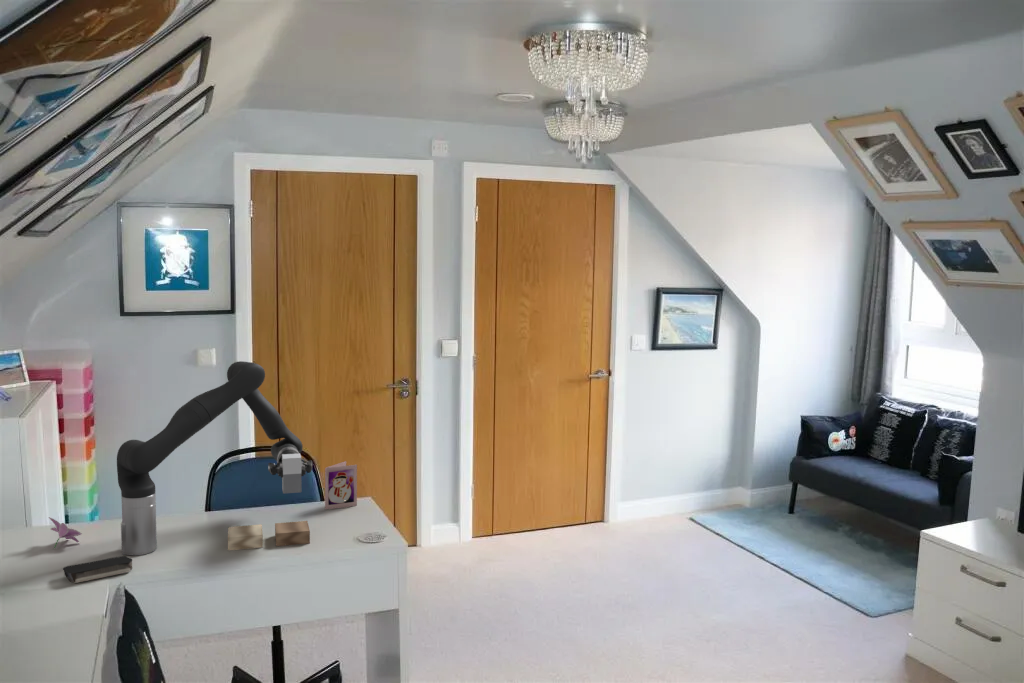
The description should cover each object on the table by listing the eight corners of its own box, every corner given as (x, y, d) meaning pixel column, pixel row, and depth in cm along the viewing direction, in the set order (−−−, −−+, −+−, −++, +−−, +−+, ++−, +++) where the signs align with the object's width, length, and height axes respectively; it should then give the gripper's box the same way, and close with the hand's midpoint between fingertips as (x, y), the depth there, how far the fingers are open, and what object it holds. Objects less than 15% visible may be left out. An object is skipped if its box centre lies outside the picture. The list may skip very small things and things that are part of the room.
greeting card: (325, 510, 283) (325, 468, 281) (320, 504, 289) (320, 463, 288) (357, 506, 288) (357, 465, 286) (351, 500, 295) (351, 460, 293)
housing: (283, 493, 248) (282, 458, 247) (282, 488, 253) (282, 454, 252) (301, 492, 250) (301, 457, 248) (300, 487, 255) (300, 453, 254)
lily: (82, 553, 240) (91, 523, 244) (43, 546, 234) (54, 515, 237) (71, 554, 248) (80, 526, 252) (33, 547, 241) (43, 518, 245)
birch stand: (227, 550, 242) (227, 537, 242) (228, 539, 251) (228, 527, 251) (262, 547, 245) (262, 534, 245) (262, 536, 255) (261, 524, 254)
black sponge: (68, 587, 214) (68, 574, 213) (62, 577, 220) (62, 564, 220) (134, 574, 224) (134, 561, 223) (127, 564, 230) (127, 552, 230)
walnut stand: (276, 546, 246) (276, 533, 246) (275, 535, 256) (275, 523, 256) (309, 543, 250) (309, 530, 249) (307, 532, 259) (307, 520, 259)
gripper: (266, 450, 261) (267, 463, 246) (311, 447, 266) (316, 460, 250) (266, 472, 262) (268, 487, 246) (311, 470, 267) (316, 484, 251)
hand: (292, 473), depth 248 cm, fingers closed on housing, 5 cm apart
